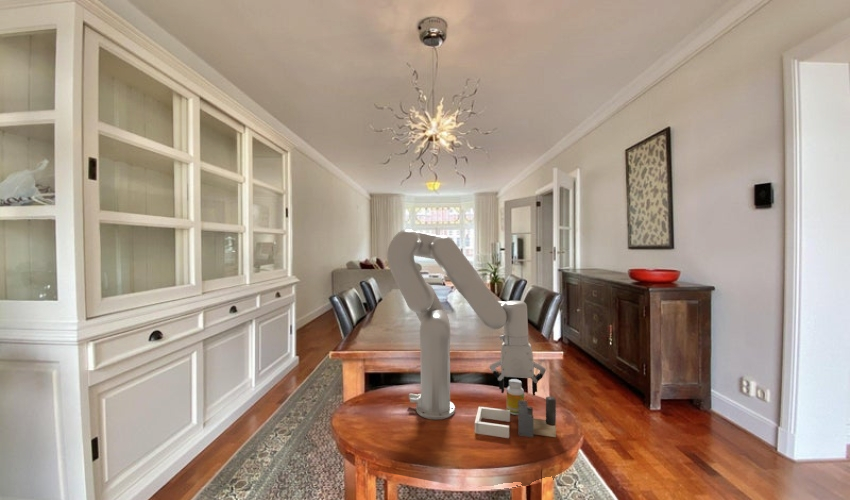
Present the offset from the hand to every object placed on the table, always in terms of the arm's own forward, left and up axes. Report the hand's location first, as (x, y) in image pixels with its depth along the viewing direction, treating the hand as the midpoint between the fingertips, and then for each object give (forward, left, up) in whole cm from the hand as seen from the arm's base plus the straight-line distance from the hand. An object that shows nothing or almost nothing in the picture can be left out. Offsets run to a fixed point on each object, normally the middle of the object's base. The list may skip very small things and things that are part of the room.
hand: (518, 392), depth 108 cm
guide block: (+2, -11, -6) cm, 13 cm away
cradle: (-7, -11, -6) cm, 15 cm away
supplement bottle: (-1, 0, -6) cm, 6 cm away
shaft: (+6, -11, -6) cm, 14 cm away
